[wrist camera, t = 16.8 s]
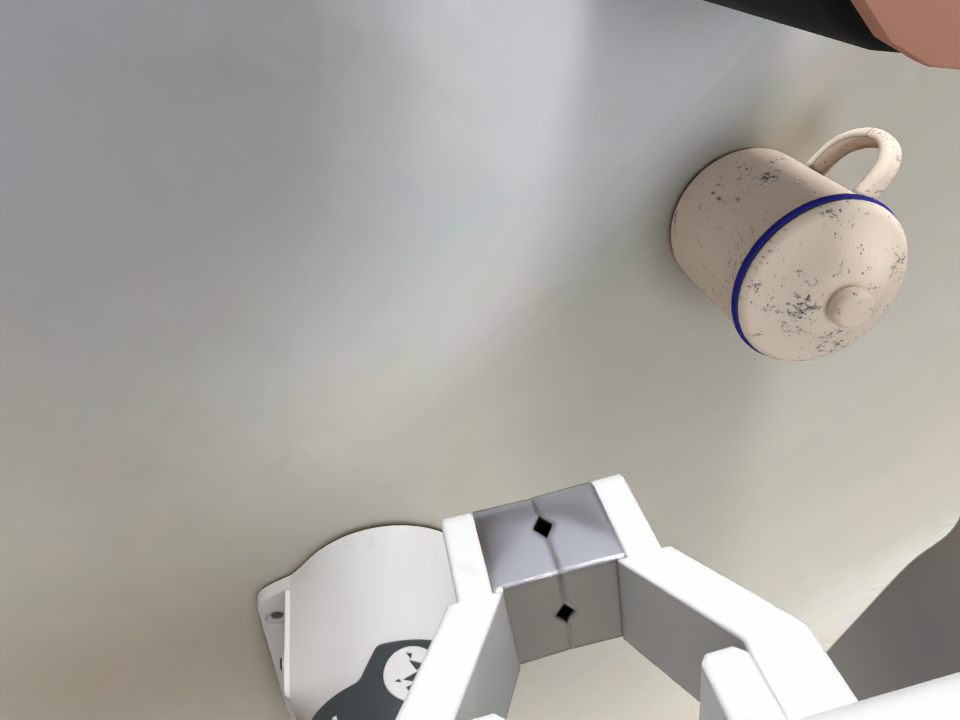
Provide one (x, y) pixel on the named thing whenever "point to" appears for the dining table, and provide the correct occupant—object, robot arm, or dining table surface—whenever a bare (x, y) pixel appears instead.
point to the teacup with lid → (794, 245)
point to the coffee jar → (872, 24)
